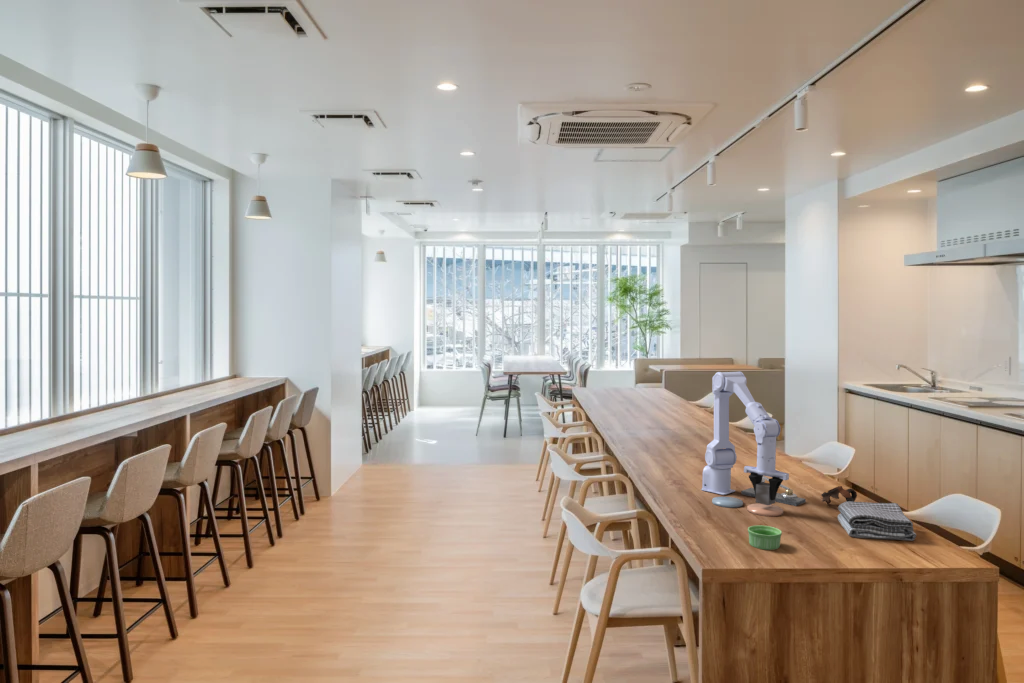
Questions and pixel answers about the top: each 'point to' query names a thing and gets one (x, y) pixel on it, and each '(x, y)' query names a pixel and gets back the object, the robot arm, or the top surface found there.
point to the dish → (765, 510)
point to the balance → (779, 495)
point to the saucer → (727, 502)
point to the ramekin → (764, 537)
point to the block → (763, 494)
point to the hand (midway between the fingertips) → (765, 497)
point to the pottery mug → (835, 494)
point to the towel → (875, 521)
